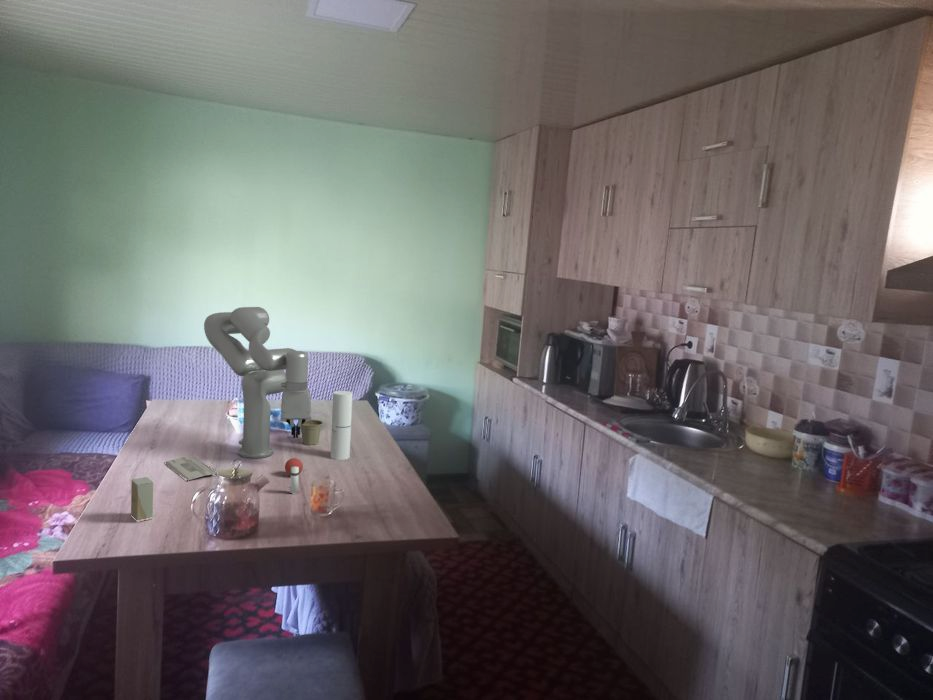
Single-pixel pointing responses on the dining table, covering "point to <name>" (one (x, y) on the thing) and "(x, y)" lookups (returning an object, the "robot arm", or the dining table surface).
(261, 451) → the robot arm
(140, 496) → the box
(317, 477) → the dining table surface
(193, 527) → the dining table surface
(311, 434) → the flower pot
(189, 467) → the newspaper
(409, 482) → the dining table surface
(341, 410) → the cylindrical container
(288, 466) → the ball
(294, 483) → the white pin
